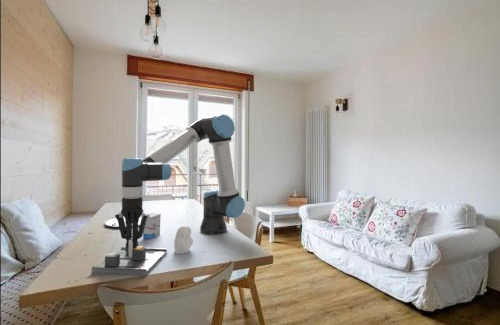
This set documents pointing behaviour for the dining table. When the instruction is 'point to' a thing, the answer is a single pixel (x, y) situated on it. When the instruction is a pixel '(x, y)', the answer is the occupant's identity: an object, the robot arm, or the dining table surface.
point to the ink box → (152, 226)
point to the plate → (112, 221)
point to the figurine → (183, 239)
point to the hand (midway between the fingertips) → (132, 255)
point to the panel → (132, 263)
